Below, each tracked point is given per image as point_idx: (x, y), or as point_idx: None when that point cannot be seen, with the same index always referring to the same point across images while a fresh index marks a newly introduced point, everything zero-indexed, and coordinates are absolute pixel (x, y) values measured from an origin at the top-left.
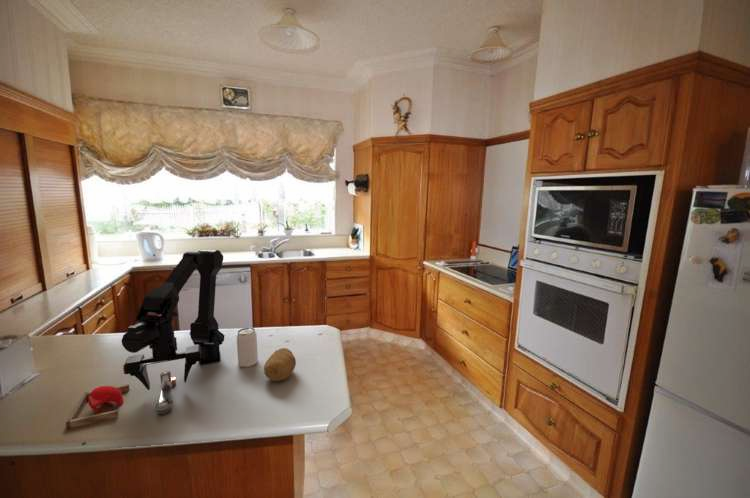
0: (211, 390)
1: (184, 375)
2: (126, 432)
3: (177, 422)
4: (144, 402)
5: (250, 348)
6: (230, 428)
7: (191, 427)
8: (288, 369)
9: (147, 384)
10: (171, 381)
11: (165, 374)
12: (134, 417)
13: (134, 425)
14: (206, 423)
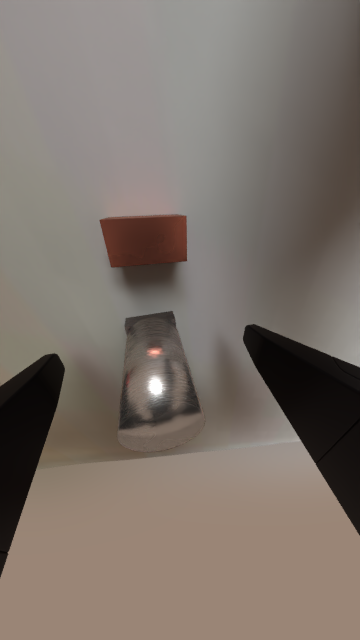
0: (301, 335)
1: (276, 399)
2: (95, 448)
3: (203, 429)
4: (70, 357)
5: None
6: (282, 437)
7: (228, 437)
8: None
9: (48, 426)
10: (161, 260)
11: (168, 439)
12: (83, 415)
13: (103, 435)
14: (253, 431)
